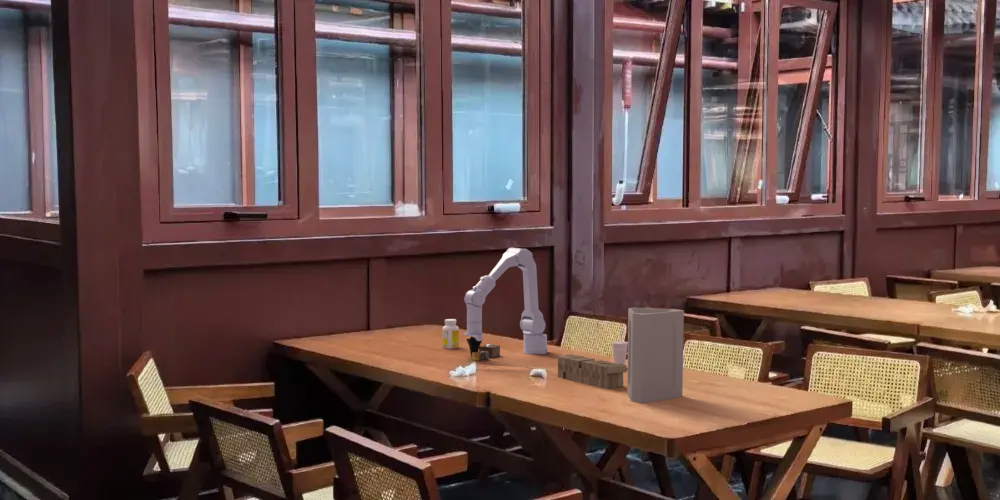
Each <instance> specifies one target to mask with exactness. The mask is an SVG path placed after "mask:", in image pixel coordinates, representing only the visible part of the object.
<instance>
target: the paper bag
mask: <svg viewBox="0 0 1000 500" xmlns="http://www.w3.org/2000/svg"><path fill="white" fill-rule="evenodd" d="M627 312H628V318H627V321H628V322H627V325H628V327H627V342H628V346H627V383H626V384H627V385H626V386H627V387H626V388H627V390H626V394H627V395H628V398H629V400H630V401H631V402H632V403H638V404H648V403H651V402H652V403H653V402H660V401H666V400H671V399H677V398H682V397H683V386H684V385H683V383H684V381H683V380H684V377H683V374H684V370H683V369H684V332H685V331H684V326H685V325H684V323H685V321H684V320H685V310H683V309H677V308H656V307H655V308H653V307H652V308H651V307H629V308H628V311H627Z"/></svg>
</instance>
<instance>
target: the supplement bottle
mask: <svg viewBox="0 0 1000 500" xmlns="http://www.w3.org/2000/svg"><path fill="white" fill-rule="evenodd" d="M441 329H442V334H441V335H442V337H441V338H442V345H441V347H442V348H443V349H446V350H452V349H453V350H454V349H459V347H460V344H459V343H460V337H459V335H460V331H459V330H460V327H459V326H458V325H457V319H456V318H447V319H446V318H445V319H444V326H442V328H441Z"/></svg>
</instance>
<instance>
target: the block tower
mask: <svg viewBox="0 0 1000 500" xmlns="http://www.w3.org/2000/svg"><path fill="white" fill-rule="evenodd" d="M624 373H627V364H625V365H623V364H617V363H614V362H612V361H607V360H603V359H599V360H598V359H597V360H596V359H595V358H592V357H587V356H582V355H579V354H573V353H570V354H569V353H568V354H562V355H559V356H557V377H558V378H561V379H564V378H565V379H566V380H569V381H574V382H577V383H580V384H585V385H590V386H594V387H598V388H602V389H607V390H608V389H615V388H620V387H621V388H622V387H624Z"/></svg>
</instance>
